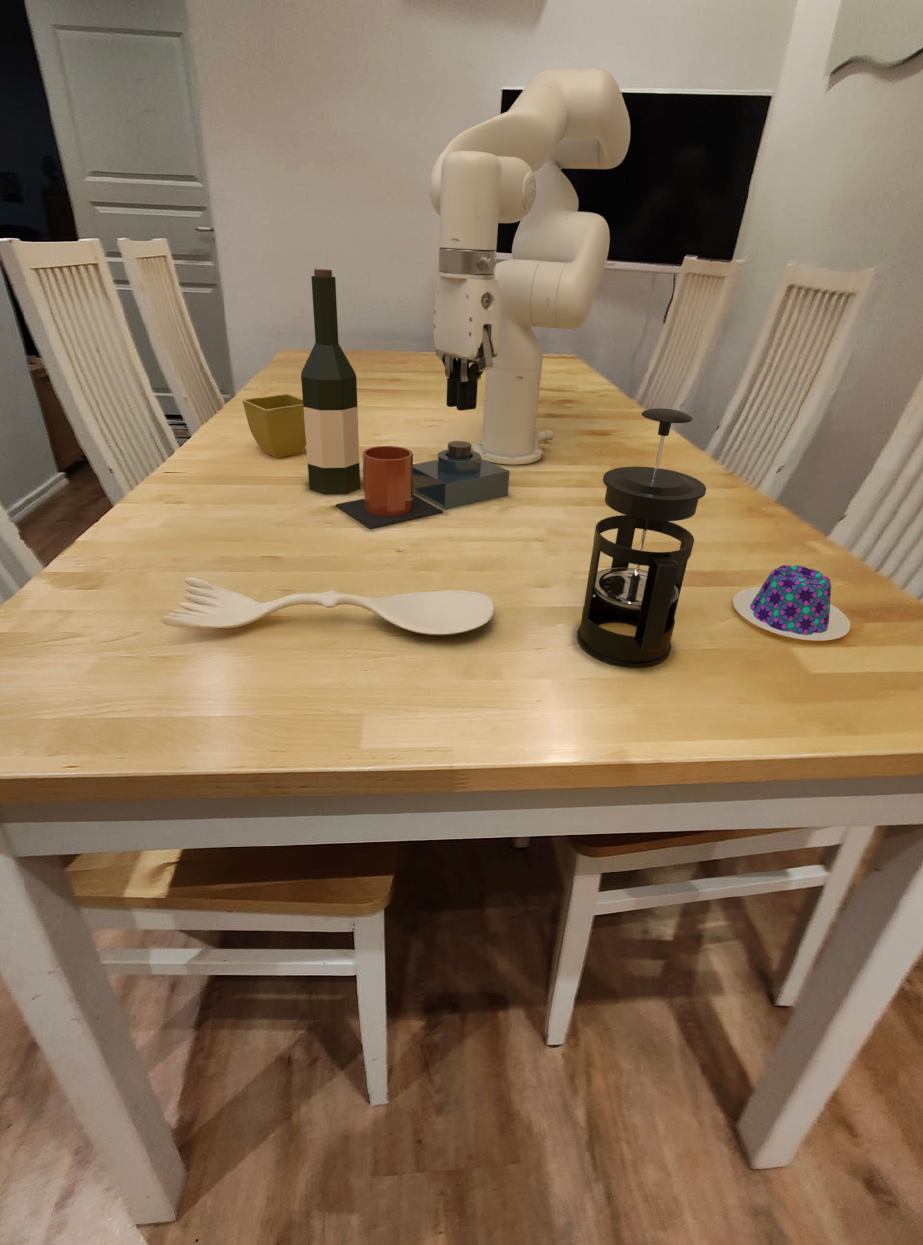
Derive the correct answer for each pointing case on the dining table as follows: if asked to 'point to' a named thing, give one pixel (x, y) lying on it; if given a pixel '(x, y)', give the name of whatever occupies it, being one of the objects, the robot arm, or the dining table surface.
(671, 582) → the french press
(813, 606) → the purple patterned hat
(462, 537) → the dining table surface
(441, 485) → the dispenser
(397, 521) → the mat
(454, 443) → the dark brown button
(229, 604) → the spoon
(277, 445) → the flower pot
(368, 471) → the cup
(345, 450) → the wine bottle
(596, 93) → the robot arm
